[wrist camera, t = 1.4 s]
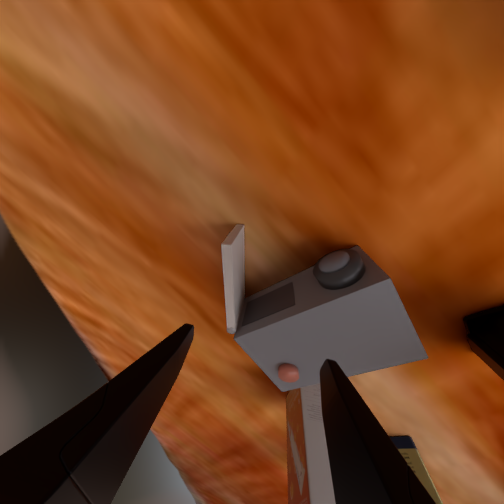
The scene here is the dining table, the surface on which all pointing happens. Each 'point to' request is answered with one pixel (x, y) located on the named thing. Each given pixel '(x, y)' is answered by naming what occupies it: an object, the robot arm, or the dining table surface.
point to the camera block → (328, 322)
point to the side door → (234, 275)
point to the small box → (307, 449)
